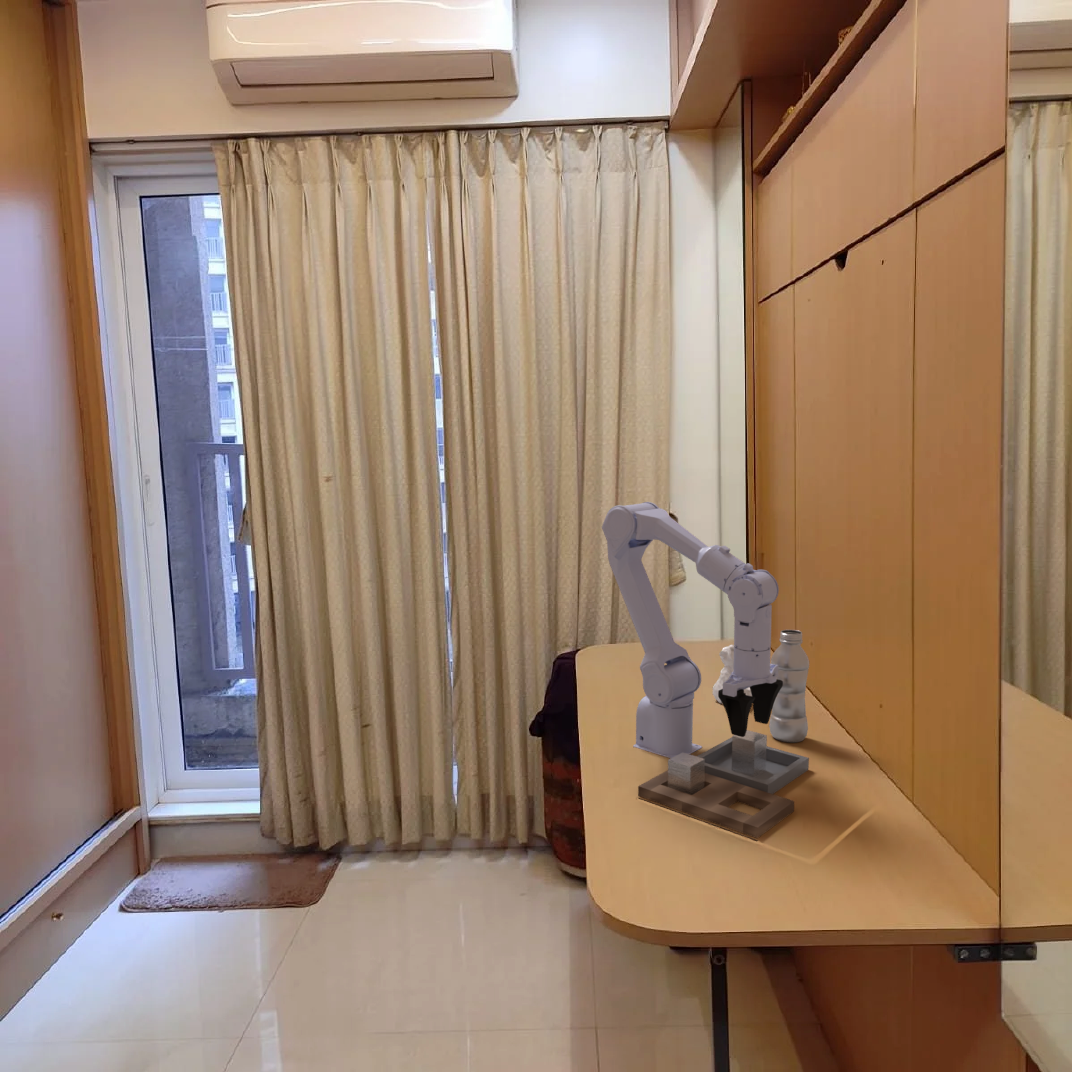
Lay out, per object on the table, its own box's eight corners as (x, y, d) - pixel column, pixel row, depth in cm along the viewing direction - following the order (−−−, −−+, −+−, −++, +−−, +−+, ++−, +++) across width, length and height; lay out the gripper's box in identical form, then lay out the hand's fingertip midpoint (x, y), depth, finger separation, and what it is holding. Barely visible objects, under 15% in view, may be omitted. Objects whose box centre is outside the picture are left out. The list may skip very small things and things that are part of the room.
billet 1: (667, 797, 130) (668, 759, 129) (681, 788, 133) (682, 752, 132) (689, 804, 127) (690, 766, 127) (704, 796, 130) (704, 759, 130)
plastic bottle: (809, 748, 149) (813, 637, 146) (769, 745, 150) (773, 635, 148) (805, 735, 155) (809, 628, 153) (767, 732, 157) (770, 626, 154)
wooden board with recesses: (638, 798, 130) (638, 786, 129) (678, 776, 138) (678, 764, 137) (757, 841, 116) (757, 827, 116) (793, 813, 124) (794, 801, 124)
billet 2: (731, 771, 138) (732, 735, 137) (743, 763, 141) (744, 729, 140) (753, 778, 136) (754, 742, 135) (765, 770, 138) (766, 735, 138)
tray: (688, 775, 138) (688, 760, 138) (732, 750, 148) (732, 736, 148) (767, 800, 129) (767, 784, 128) (808, 772, 139) (808, 757, 138)
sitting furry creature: (748, 712, 168) (750, 653, 166) (705, 706, 171) (707, 648, 170) (759, 698, 176) (760, 642, 174) (717, 693, 180) (719, 637, 178)
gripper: (752, 660, 128) (750, 747, 129) (796, 642, 138) (793, 722, 140) (711, 652, 132) (710, 736, 134) (756, 635, 143) (754, 713, 145)
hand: (750, 728), depth 137 cm, fingers open, 7 cm apart
